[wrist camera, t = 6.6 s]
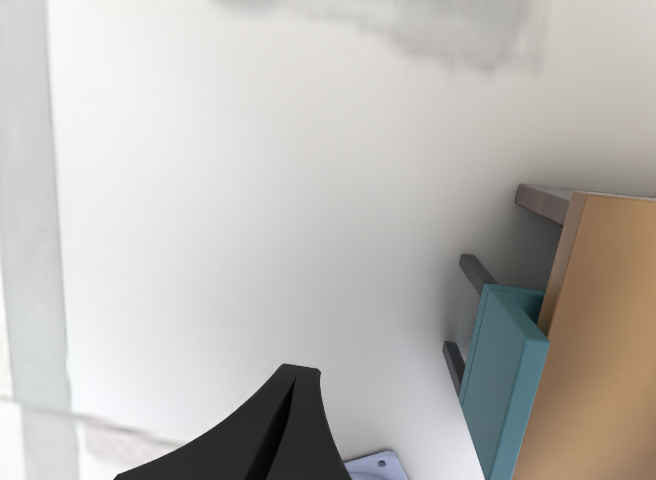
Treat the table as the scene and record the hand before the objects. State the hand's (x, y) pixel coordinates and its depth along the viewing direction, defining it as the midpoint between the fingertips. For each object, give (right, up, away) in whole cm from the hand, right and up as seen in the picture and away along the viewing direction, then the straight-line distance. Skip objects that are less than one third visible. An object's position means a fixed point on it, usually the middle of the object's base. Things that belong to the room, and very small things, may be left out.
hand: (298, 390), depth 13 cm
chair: (+12, +1, +8) cm, 14 cm away
